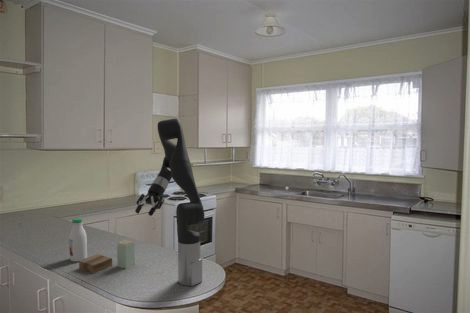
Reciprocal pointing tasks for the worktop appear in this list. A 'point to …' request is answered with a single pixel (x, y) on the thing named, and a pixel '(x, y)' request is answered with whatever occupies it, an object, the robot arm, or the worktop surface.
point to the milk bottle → (78, 241)
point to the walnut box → (95, 263)
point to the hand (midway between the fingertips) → (143, 213)
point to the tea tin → (125, 254)
